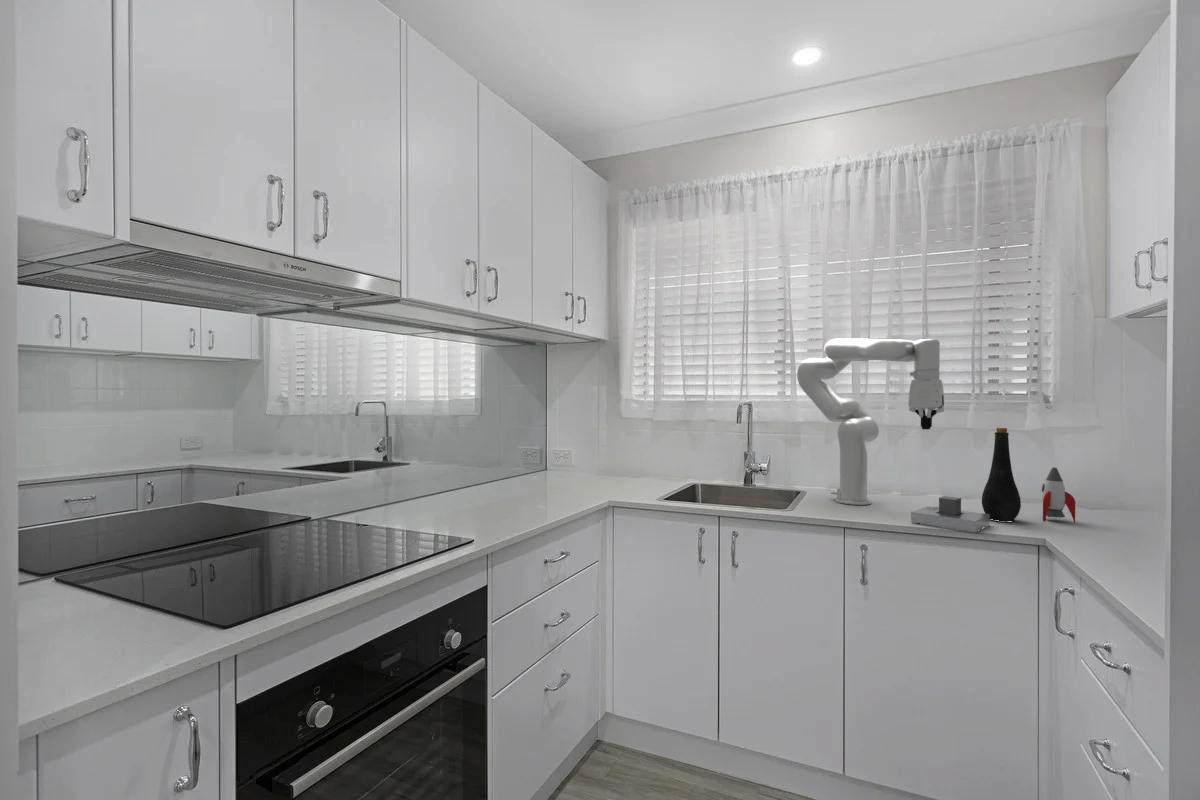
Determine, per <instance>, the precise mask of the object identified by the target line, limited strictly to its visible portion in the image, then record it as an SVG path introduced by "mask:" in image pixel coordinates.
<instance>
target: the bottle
mask: <svg viewBox="0 0 1200 800" xmlns="http://www.w3.org/2000/svg"><path fill="white" fill-rule="evenodd" d="M1009 435H1010V434H1009V432H1008V428H1007V427H996V432H994V445H993V455H992V461H991V468H990V470H989V471H990V472H989V475H988V477H987V481H986V483H985V486H984V489H983V491H982V495H981V506H982V509H983V512H984V514H990V519H993V520H999V521H1014V522H1015V519H1017V517H1018V516H1019V515H1020V511H1021V508H1022V503H1021V502H1022V501H1021V496H1020V492H1019V490H1018V487H1017V484H1016V481H1015V478H1014V475H1013V469H1012V462H1011V455H1010V444H1009V441H1010V439H1009Z"/></svg>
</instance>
